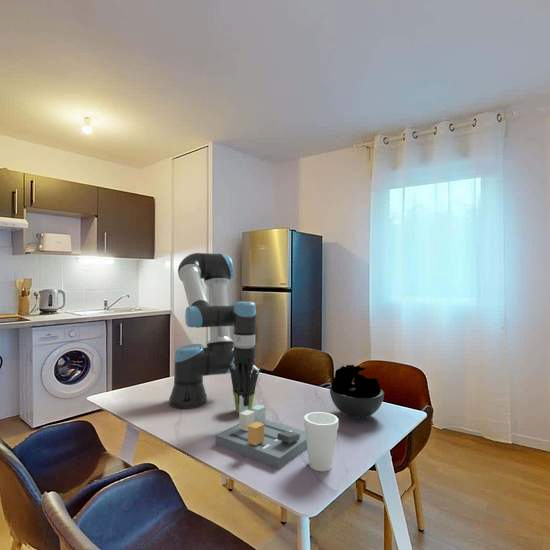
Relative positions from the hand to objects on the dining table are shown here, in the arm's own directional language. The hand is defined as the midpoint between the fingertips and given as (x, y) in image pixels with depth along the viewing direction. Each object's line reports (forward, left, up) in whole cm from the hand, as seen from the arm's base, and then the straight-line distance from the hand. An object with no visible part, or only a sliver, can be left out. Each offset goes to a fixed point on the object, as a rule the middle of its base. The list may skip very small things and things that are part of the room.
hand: (243, 414), depth 124 cm
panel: (+13, -5, -5) cm, 15 cm away
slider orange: (+15, -12, -1) cm, 19 cm away
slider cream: (+6, -6, -1) cm, 9 cm away
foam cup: (+33, -6, -5) cm, 34 cm away
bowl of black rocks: (+27, +34, -5) cm, 44 cm away
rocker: (+22, -6, 0) cm, 23 cm away
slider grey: (+6, 0, -1) cm, 7 cm away
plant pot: (-10, +12, -5) cm, 16 cm away
